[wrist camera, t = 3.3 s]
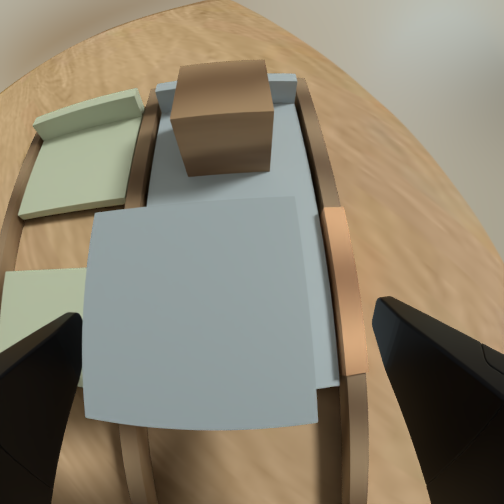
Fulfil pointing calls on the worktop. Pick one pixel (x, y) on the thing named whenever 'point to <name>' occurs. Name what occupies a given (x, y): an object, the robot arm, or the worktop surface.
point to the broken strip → (70, 200)
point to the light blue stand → (212, 293)
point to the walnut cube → (223, 117)
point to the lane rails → (340, 280)
